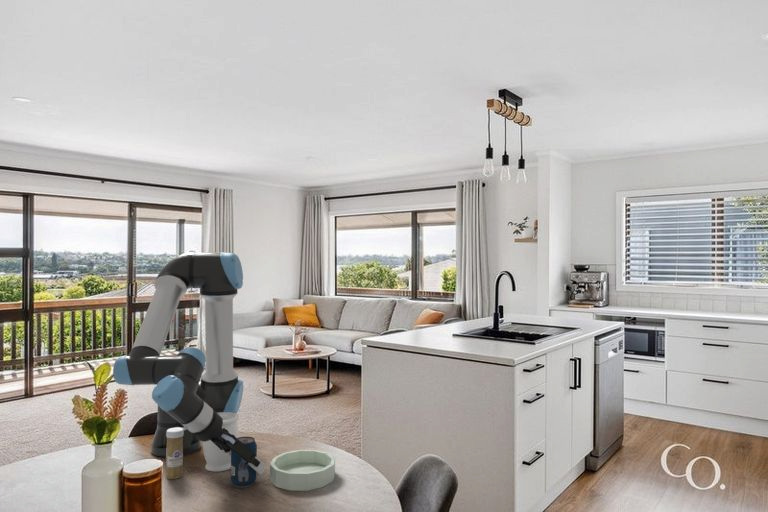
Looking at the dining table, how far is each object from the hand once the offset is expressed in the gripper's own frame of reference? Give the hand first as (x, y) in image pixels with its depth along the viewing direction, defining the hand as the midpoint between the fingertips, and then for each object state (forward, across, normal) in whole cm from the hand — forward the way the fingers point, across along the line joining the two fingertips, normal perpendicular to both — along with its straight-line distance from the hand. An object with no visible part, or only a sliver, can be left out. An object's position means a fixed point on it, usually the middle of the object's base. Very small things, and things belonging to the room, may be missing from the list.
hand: (254, 465), depth 147 cm
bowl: (+10, +9, +5) cm, 14 cm away
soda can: (0, 0, -5) cm, 5 cm away
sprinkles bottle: (-7, -18, -13) cm, 24 cm away
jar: (+2, -15, -4) cm, 16 cm away
